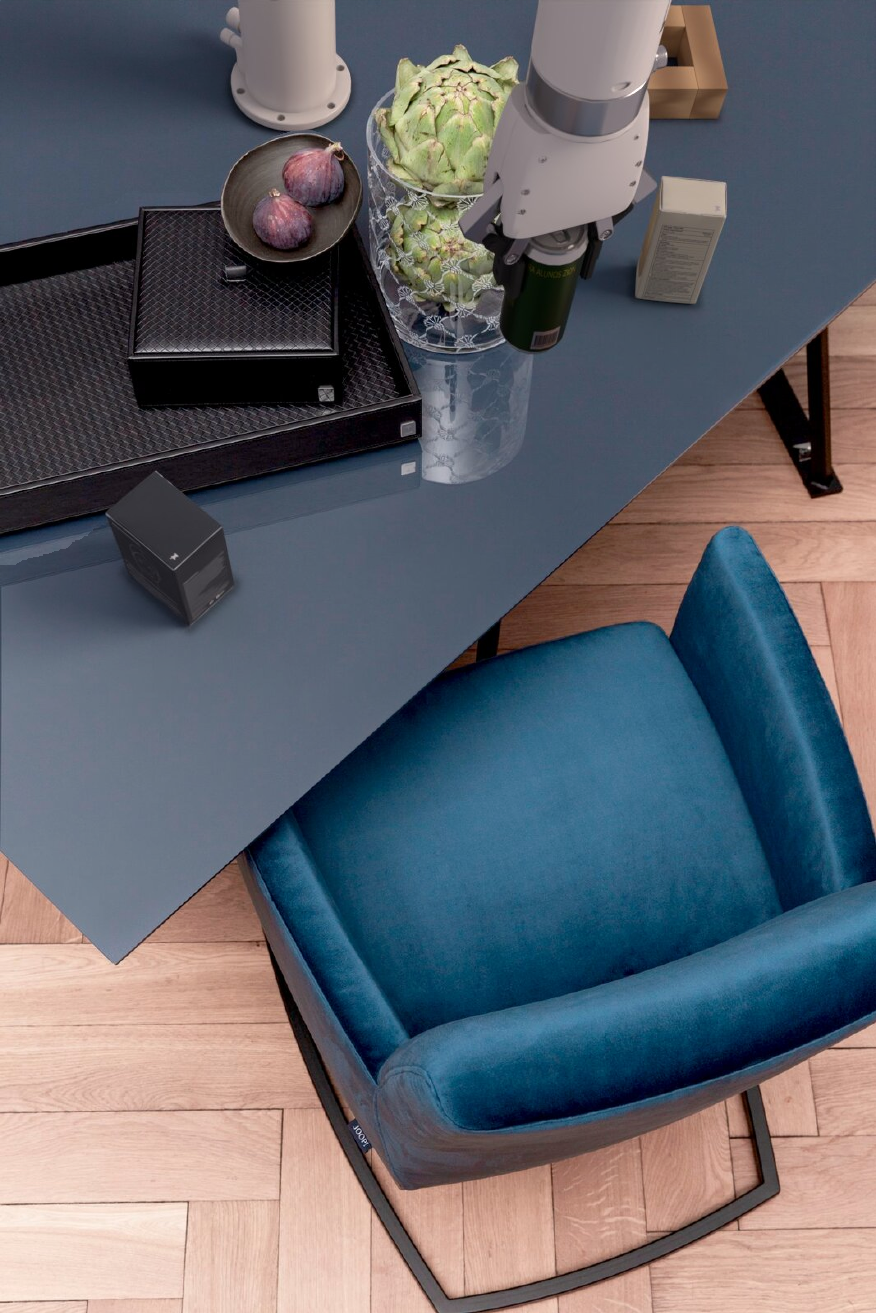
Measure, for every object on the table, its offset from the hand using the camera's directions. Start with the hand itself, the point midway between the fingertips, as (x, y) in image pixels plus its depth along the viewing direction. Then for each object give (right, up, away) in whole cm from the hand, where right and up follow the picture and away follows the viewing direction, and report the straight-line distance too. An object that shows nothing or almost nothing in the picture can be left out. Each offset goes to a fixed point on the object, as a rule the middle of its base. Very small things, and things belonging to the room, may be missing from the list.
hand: (543, 273), depth 92 cm
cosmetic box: (+15, +8, +29) cm, 34 cm away
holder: (+16, +34, +40) cm, 55 cm away
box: (-30, -23, +13) cm, 40 cm away
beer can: (-1, -3, +6) cm, 7 cm away
